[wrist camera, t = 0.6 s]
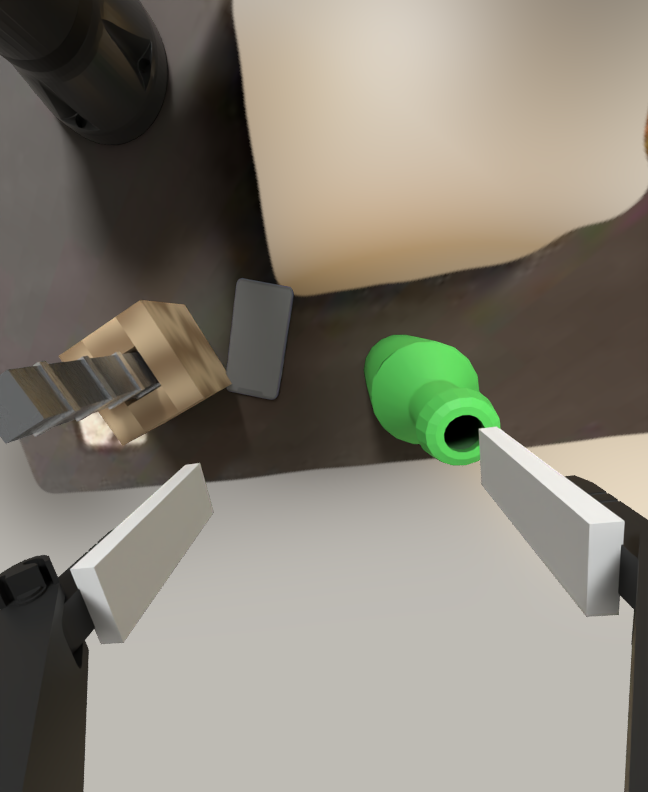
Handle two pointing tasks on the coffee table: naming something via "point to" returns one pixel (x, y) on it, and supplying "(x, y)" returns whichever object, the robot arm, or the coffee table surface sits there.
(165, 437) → the coffee table surface
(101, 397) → the column
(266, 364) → the smartphone
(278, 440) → the coffee table surface
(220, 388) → the housing
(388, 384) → the bottle
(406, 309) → the coffee table surface
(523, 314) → the coffee table surface
